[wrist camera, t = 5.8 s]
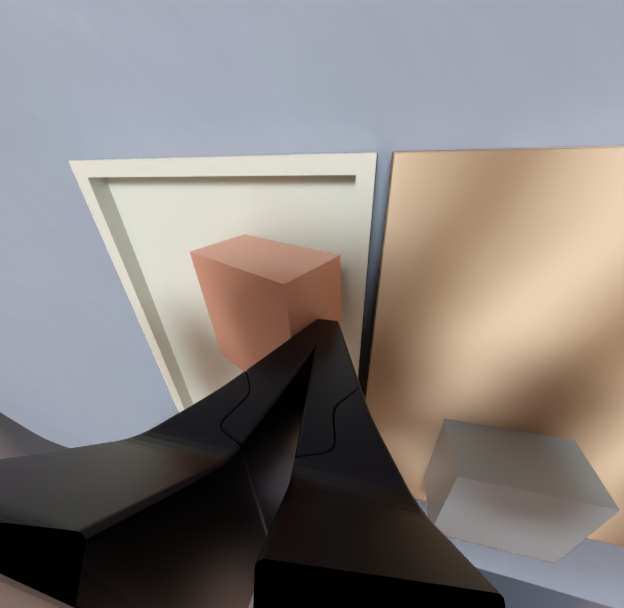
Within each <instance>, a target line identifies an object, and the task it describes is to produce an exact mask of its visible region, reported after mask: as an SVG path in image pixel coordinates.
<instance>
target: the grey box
mask: <svg viewBox="0 0 624 608" xmlns="http://www.w3.org/2000/svg"><path fill="white" fill-rule="evenodd" d="M424 482H425V490H426V499H427V507H428V515H429V519H430V520H431V521H432V522H433V524H434V525H435V526H436V527H437V528H438V529H439V530H440V531H441V532H442V533H443V534H444V535H445V536H447V537H451V538H455V539H459V540H463V541H467V542H471V543H475V544H479V545H483V546H487V547H491V548H494V549H498V550H502V551H506V552H510V553H514V554H518V555H522V556H526V557H530V558H534V559H538V560H542V561H546V562H550V563H554V564H555V563H556V562H557V561H558V560H559V559H561V558H562V557H563V556H564V555H566V554H567V553H568V552H569V551H571V550H572V549H573V548H574V547H576V546H577V545H578V544H579V543H580V542H582V541H583V540H584V539H585V538H587V537H588V536H589V535H590V534H592V533H593V532H594V531H595V530H597V529H598V528H599V527H600V526H601V525H603V524H604V523H605V522H606V521H608V520H609V519H610V518H611V517H613V516H614V515H615V514H616V513H618V512H619V511H620V509H619V508H618V506H617V505H616V503H615V501H614V500H613V498H612V497H611V495H610V494H609V492H608V491H607V489H606V487H605V486H604V484H603V483H602V481H601V480H600V478H599V477H598V475H597V474H596V472H595V470H594V469H593V467H592V466H591V464H590V463H589V461H588V460H587V458H586V456H585V455H584V453H583V452H582V450H581V449H580V447H579V446H578V444H577V443H576V441H575V440H569V439H563V438H558V437H552V436H546V435H540V434H534V433H528V432H522V431H516V430H510V429H504V428H498V427H492V426H486V425H480V424H474V423H468V422H462V421H456V420H450V419H444V422H443V424H442V427H441V430H440V433H439V436H438V438H437V441H436V444H435V447H434V450H433V452H432V455H431V458H430V461H429V464H428V466H427V469H426V472H425V475H424Z"/></svg>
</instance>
